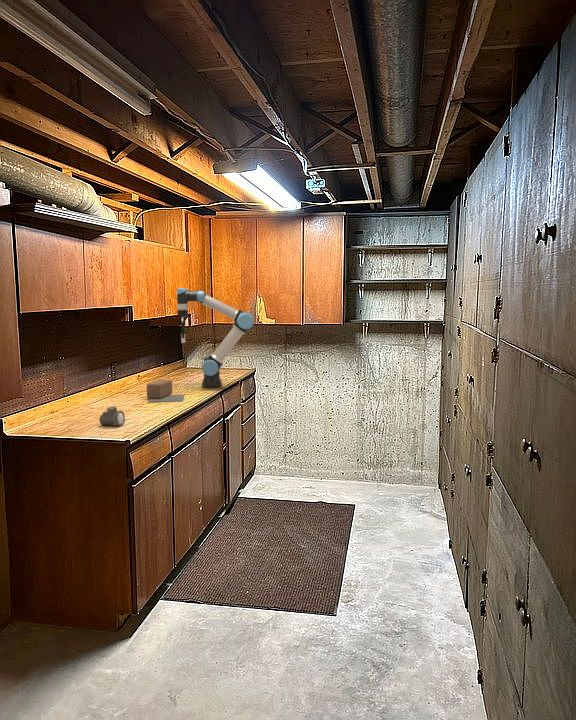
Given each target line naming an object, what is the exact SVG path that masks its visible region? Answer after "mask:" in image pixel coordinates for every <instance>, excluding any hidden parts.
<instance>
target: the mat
mask: <svg viewBox="0 0 576 720" xmlns="http://www.w3.org/2000/svg"><path fill="white" fill-rule="evenodd" d="M184 398H185V394H170V395H168V396H166V397H163V398H161V399H148V401H147V403H177V402H178V403H179V402H181V403H182V402H184Z"/></svg>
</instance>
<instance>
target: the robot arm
mask: <svg viewBox="0 0 576 720" xmlns="http://www.w3.org/2000/svg"><path fill="white" fill-rule="evenodd" d="M189 302H197V303H200V304H201V305H203V306H205V307H208V308H209V309H212V310H214V311H215V312H218V313H220V314H221V315H224V316H226V317H228V318H229V319H232V321H233V324H232V328H231V330H230V331H229V332H228V333H227V335H226V336H225V337H224V339H223V340H222V341H221V343H220V344H219V346H218V347H217V348H216V349H215V351H213V353H209V355H205V356H203V362H202V365H201V371H202V372H203V379H202V382H201V387H202V388H205V389H206V388H209V389H210V388H211V389H213V388H221V387H223V382H222V380H221V379H222V378H221V375H220V368H222V366H223V364H224V360H225V358H226V357H227V356H228V354H229V353H230V352H231V351H232V349H233V348H234V346H235V345H236V344H237V343H238V341H239V340H240V339H241V337H242V336H243V335H247V333H248V332H249V330H251V328H252V327H253V326H254V323H255V319H254V316H253V315H252V314H251V313H250V312H246V311H244V310H241V309H236V308H234V307H233V306H230V305H228V304H226V303H225V302H223V301H220V300H218V299H216V298H214V297H212V296H210V295H207V294H206V293H205V291H203V290H188V288H187V287H177V289H176V305H175V306H176V308H177V311H176V312H177V313H176V314H177V316H180V318H179V321H180V322H179V323H180V332H179V334H180V337H181V338H180V340H181V344H183V343H186V319H187V318H186V317H185V316H188V315H189Z"/></svg>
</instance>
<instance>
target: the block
mask: <svg viewBox="0 0 576 720" xmlns="http://www.w3.org/2000/svg"><path fill="white" fill-rule="evenodd" d="M168 395H173V380H172V379H157V380H153V381H151V382H148V383H146V398H147V399H148V400H149V399H161V398H163V397H166V396H168Z"/></svg>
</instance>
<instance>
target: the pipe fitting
mask: <svg viewBox="0 0 576 720" xmlns="http://www.w3.org/2000/svg"><path fill="white" fill-rule="evenodd" d="M117 409H118V408H117V406H114V405H113V406H109V407H107V408H106V411H103V412H102V414H101V415H100V417H99V423H100V425H101V426H113V425H115V426H116V427H123V426H124V425H125V423H126V422H125V421H126V416H125V413H124V411H122V410H117Z"/></svg>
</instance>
